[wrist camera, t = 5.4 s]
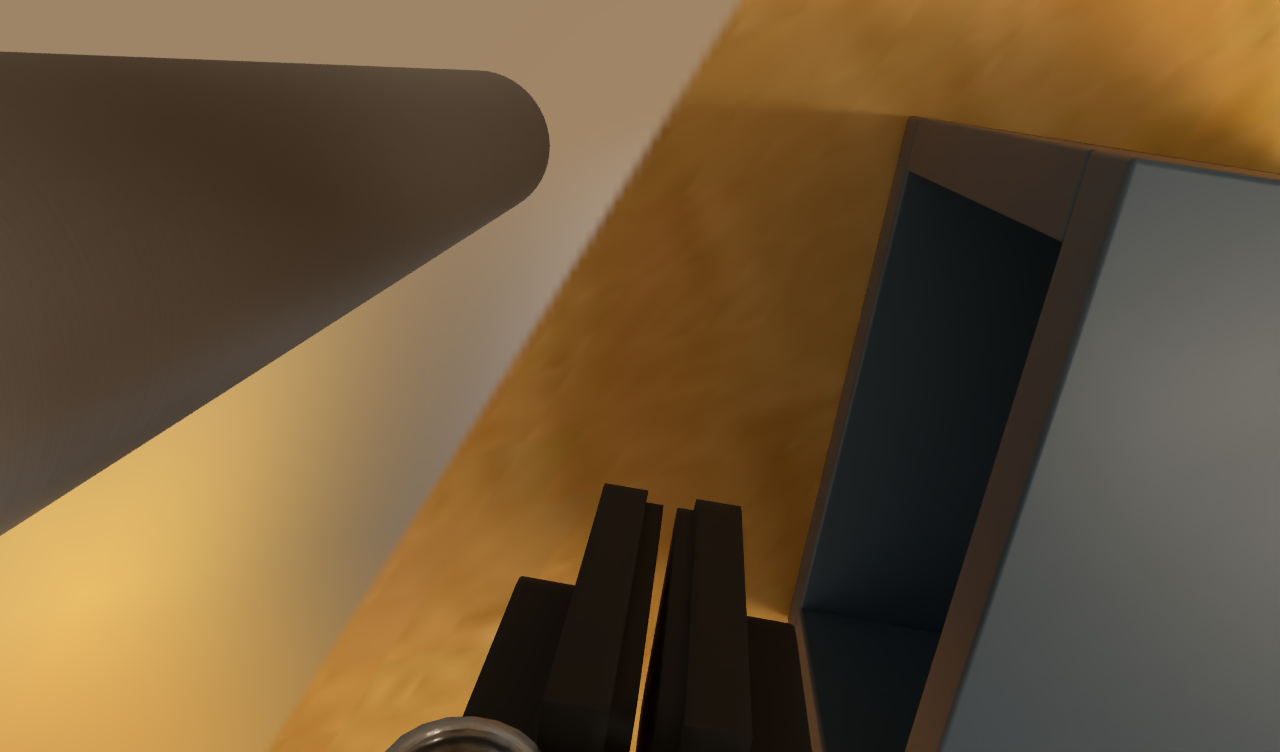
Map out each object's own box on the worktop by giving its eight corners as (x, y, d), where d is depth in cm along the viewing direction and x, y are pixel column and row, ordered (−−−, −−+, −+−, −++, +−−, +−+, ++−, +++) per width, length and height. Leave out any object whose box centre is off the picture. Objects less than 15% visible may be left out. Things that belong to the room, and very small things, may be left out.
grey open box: (786, 618, 22) (844, 1038, 12) (908, 114, 18) (1132, 156, 8) (1112, 675, 21) (1430, 1147, 12) (1308, 178, 17) (2012, 295, 8)
